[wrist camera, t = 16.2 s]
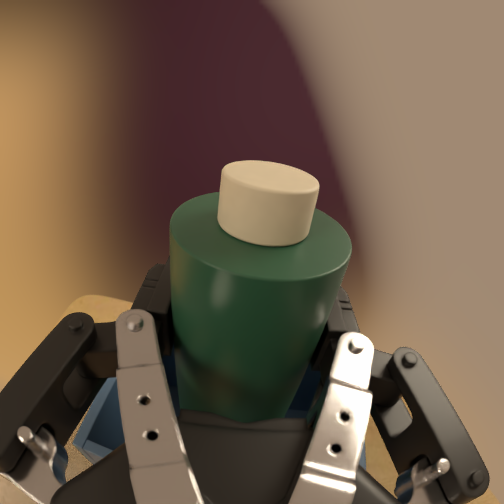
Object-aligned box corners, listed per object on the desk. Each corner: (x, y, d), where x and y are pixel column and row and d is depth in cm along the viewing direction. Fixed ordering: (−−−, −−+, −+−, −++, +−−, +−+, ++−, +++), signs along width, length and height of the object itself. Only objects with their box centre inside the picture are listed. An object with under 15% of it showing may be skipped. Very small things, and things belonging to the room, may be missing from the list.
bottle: (282, 384, 16) (350, 168, 10) (274, 464, 12) (391, 238, 6) (194, 367, 17) (204, 142, 10) (169, 443, 12) (133, 191, 6)
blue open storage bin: (318, 409, 22) (355, 343, 17) (311, 525, 13) (366, 503, 9) (159, 379, 23) (146, 304, 18) (116, 486, 14) (71, 443, 10)
